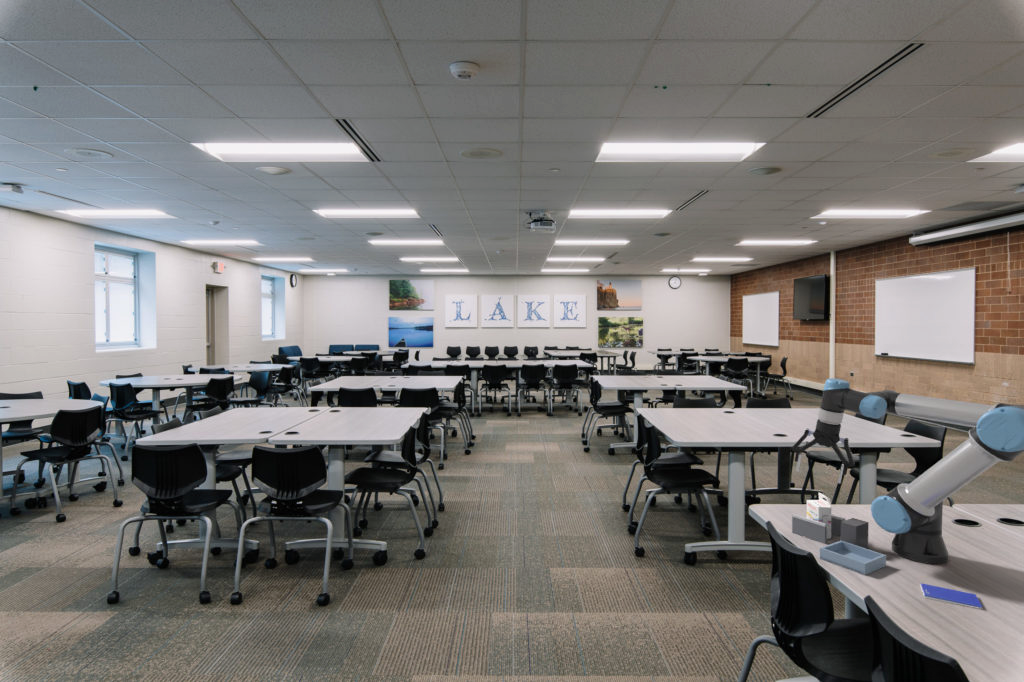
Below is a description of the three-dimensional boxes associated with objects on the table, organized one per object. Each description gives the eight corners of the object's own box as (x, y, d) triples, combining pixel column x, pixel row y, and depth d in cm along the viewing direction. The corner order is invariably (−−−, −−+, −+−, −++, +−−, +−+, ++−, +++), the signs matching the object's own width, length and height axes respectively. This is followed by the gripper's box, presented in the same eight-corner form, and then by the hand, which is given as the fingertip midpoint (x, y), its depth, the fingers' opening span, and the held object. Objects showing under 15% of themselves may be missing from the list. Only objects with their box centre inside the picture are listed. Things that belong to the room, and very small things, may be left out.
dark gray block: (868, 548, 183) (868, 522, 183) (855, 552, 179) (856, 526, 179) (852, 543, 187) (853, 517, 187) (840, 547, 183) (840, 521, 183)
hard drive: (924, 594, 149) (982, 606, 142) (920, 582, 156) (975, 593, 149) (924, 599, 149) (982, 611, 142) (920, 587, 156) (975, 598, 149)
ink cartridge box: (805, 530, 199) (805, 491, 199) (818, 530, 199) (819, 491, 199) (817, 539, 191) (818, 498, 190) (831, 539, 191) (832, 498, 190)
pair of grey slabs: (845, 536, 193) (845, 518, 193) (824, 543, 186) (824, 524, 186) (812, 526, 203) (812, 508, 203) (791, 532, 197) (792, 514, 197)
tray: (886, 566, 169) (886, 555, 169) (864, 575, 162) (865, 563, 162) (841, 550, 181) (841, 540, 181) (819, 558, 174) (819, 548, 174)
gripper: (870, 428, 187) (858, 484, 190) (792, 410, 201) (782, 462, 204) (870, 433, 181) (857, 490, 184) (789, 414, 195) (779, 468, 198)
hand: (818, 476), depth 194 cm, fingers open, 13 cm apart
